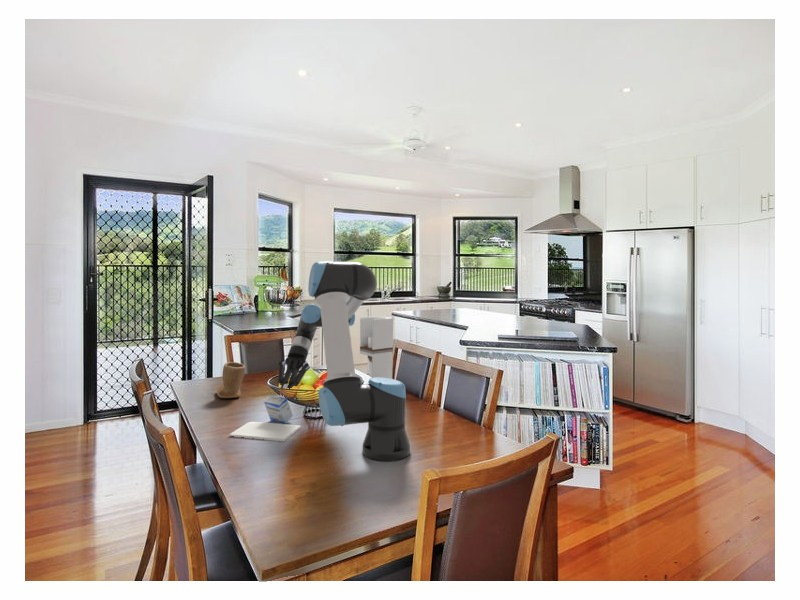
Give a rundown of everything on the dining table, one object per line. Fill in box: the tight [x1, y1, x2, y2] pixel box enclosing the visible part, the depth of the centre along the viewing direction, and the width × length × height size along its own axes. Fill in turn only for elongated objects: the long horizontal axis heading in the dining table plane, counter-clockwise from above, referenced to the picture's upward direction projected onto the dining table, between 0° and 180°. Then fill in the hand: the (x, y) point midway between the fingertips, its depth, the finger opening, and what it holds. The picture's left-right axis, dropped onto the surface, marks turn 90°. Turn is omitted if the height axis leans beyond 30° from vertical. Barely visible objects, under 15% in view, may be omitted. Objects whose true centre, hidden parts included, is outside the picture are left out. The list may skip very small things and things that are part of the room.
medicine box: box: [263, 395, 294, 424], centre depth 176 cm, size 8×4×9 cm, turn 62°
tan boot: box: [216, 361, 246, 399], centre depth 211 cm, size 15×12×15 cm
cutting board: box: [229, 421, 302, 442], centre depth 166 cm, size 14×20×1 cm
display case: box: [359, 315, 394, 379], centre depth 223 cm, size 11×11×35 cm
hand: (281, 400), depth 178 cm, fingers closed
